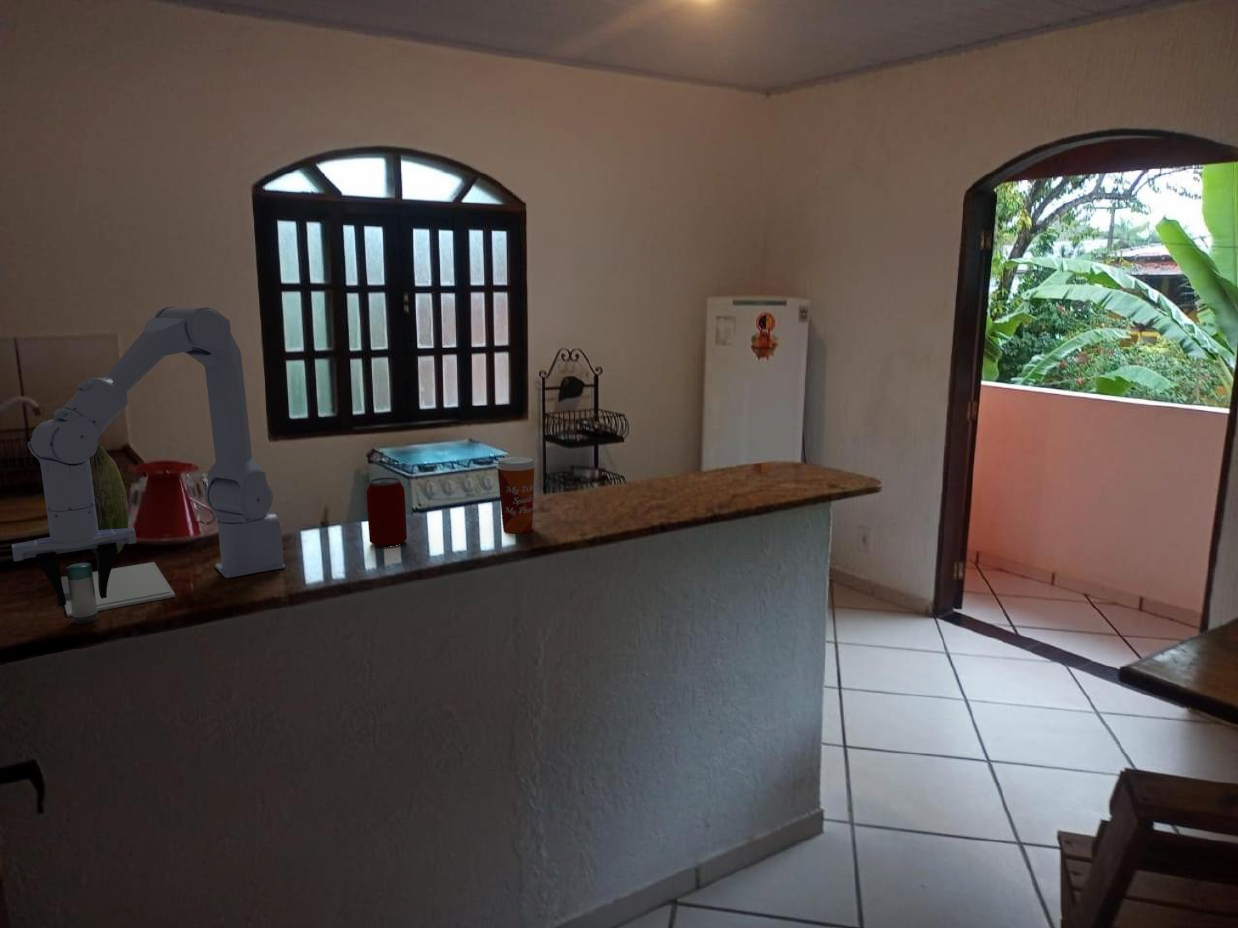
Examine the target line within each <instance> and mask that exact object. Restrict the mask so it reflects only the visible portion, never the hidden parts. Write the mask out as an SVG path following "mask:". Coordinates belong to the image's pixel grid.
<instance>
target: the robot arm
mask: <svg viewBox="0 0 1238 928" xmlns="http://www.w3.org/2000/svg"><path fill="white" fill-rule="evenodd" d="M231 331H232V330H231V323H230V319H228V317H226V316H224V315H223V314H222V313H221V312H219V311H218V310H216V309H215V308H213V307H209V306H201V307H176V306H165V307H163V308H161V309H159V310H158V311H157V312H156V313H155V315H154V317H152V318H150V319H149V320H147V322H146V323H145V325H144V328H143V331H142V332H141V333H140V335H139V336H138V337H137V338H136V340H134V342H133V343H132V344H131V346H130V347H129V348H128V349H127V350H126V351H125V352H124V354H122V356H121V357H120V358H119V360H118V361H117V362H116V363H115V364H114V365H113V367H112V368H111V369H110V371H109V372H108V373H107V374H106V375H105V376H104V377H92V378H90V379H89V380H88V381H86V380H85V381H81V382H80V383H79V384H78V385H77V386H76V389H78V391H77V392H76V393H75V394H74V395H73V396H72V397H71V399H70V400H69V401H67V403H66V404H65V405H64V406H63V407H61V408H56V410H55V411H54V412H53V416H54V417H53V419H48V420H44V421H43V422H40V423H39V424H38V425H37V426H36V427H35V428H34V429H33V431H32V433H31V435H32V436H31V438H30V441H28V442H27V448H28V450H29V451H30V453H31V454H32V455H33V456H34V457H35V458H36V459H37V460H38V462H39V464H40V471H41V478H42V487H43V493H44V501H45V507H46V508H45V510H46V515H47V522H48V523H47V524H48V529H49V531H48V532H49V537H43V538H39V539H34V540H30V541H25V542H20V543H14V544H13V543H12V544H11V551H12V559H13V562H19V561H24V559H30V558H35V559H36V564H37V566H38V567H39V568H40V570H41V571H42V572H43V573H44V575H45V576H46V577H47V580H49V582H50V584H51V586H52V587H53V589H54V592H55V594H56V595H57V599H58V602H59V606H64V605H66V599H65V594H64V590H63V586H62V581H61V577H62V575H61V574H62V573H61V566H60V565H61V564H60V560H59V556H58V555H59V554H64V553H71V552H76V551H84V550H90V549H94V548H95V550H94V552H95V553H94V554H95V560H96V567H97V571H98V586H99V594H100V597H101V599H102V598H107V585H108V580H109V575H110V572H111V569H113V566H114V564H115V561H116V558H117V556H118V554H119V553H118V549H117V546H116V545H119V544H124V545H125V544H128V545H132V544H137V535H136V530H135V528H134V527H128V528H125V529H112V530H98V523H97V515H96V507H95V499H94V491H93V483H92V475H91V467H90V459H89V458H90V457H91V456H93V455H94V454H95V452H96V450H97V446H98V445H99V437H100V436H101V435H102V434H103V433H104V432H105V430H106V429H107V428H108V427H109V426H110V425H111V423H113V421H114V420H116V418H117V417H118V416H119V415H121V412H123V410H125V408H127V406H128V405H129V404H128V401H129V400H128V392H129V391H130V390H131V389H132V388H133V387H134V386H135V385H136V384H137V383H139V381H140V380H141V379H142V378H143V377H144V376H146V374H148V373H149V372H150V371H151V370H152V369H153V368H154V367H155V366H156V365H157V364H159V363H160V362H161V360H163V358H165V357H166V356H171V355H176V354H180V353H185V354H187V355H188V356H190V357H191V358H193V359H194V360H195V361H197V362H198V363H200V364H201V365H203V367H204V372H205V379H206V389H207V395H208V398H207V399H208V406H209V414H210V423H211V430H212V431H211V433H212V440H213V450H214V458H215V459H214V460H215V462H214V464H213V465H212V466H211V468H210V467H209V468H210V469H209V470H208V471H207V477H208V478H207V479H208V481H207V485H206V489H205V496H204V498H205V502H206V505H207V506H208V508H210V510H212V511H213V512H214V517H215V518H216V519H217V520H216V521H217V530H218V540H219V541H218V542H219V552H220V562H217V563H216V564H215V565H214V566H215V568H216V569H217V570H218V572H219V573H220V574H222V576H223V577H224V578H225V579H231V578H235V577H241V576H246V575H251V574H258V573H262V572H269V571H274V570H279V569H280V570H281V569H285V568H286V564H285V560H284V558H285V557H284V550H283V534H282V527H281V523H280V519H279V517H278V515H277V514H276V513H274V512H273V513H271V512H270V513H268V512H269V511H270V510H271V508H272V505H273V499H274V497H273V491H272V488H271V486H270V485H269V483H268V480H267V477H266V472H265V470H264V469H263V468H262V467H261V466H260V465H259V464H258V463H257V462H256V461H255V460H254V459H253V455H252V443H251V436H250V435H251V434H250V427H249V418H248V417H249V416H248V405H247V397H246V387H245V379H244V378H245V376H244V371H243V369H244V367H243V360H242V353H241V350H240V348H239V345H238V343H236V340H235V338H234V336H233V335H232V332H231ZM117 553H118V554H117Z"/></svg>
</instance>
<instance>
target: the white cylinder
mask: <svg viewBox="0 0 1238 928" xmlns="http://www.w3.org/2000/svg"><path fill="white" fill-rule="evenodd" d="M65 569H66V576H67V578H68V585H69V592H70V600H71V607H72V614H73V616H72V619H73V621H72V622H73V624H75V625H84V624H89V623H93V622H95V621H98V619H99V615H98V612H99V611H97V604H96V597H95V589H94V581H93V574H92V572H93V567H92V563H90V562H79V563H74V564H70V565H68V566H66V568H65Z"/></svg>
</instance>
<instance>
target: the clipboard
mask: <svg viewBox="0 0 1238 928" xmlns="http://www.w3.org/2000/svg"><path fill="white" fill-rule="evenodd" d="M92 574H93V581H94V589H95V597H96V604H97V612H100V611H106V610H112V609H116V608H117V609H118V608H122V607H126V606H127V607H128V606H132V605H138V604H142V603H143V604H144V603H149V602H150V603H151V602H154V601H159V600H165V599H170V598H171V599H172V598H176V593H175V592H174V590H173V588H172V587H171V585H170V584H169V582H168V580H167V579H166V577H164V575H163V573H162V572H161V570H160V569H159V567H158V565H157V564H156V563H155V561H152V562H146V563H139V564H133V565H128V566H127V565H126V566H122V567H116V568H112V569H111V572H110V575H109V580H108V585H107V598H102V599H101V597H100V594H99V586H98V570H95V571H92ZM61 581H62V586H63V590H64V594H65V599H66V605H63V606H64V608H65V613H66V617H67V618H69V617H73V614H72V607H71V600H70V592H69V585H68V578H67V575H66V576H65V575H64V576H61Z"/></svg>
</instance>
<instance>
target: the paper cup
mask: <svg viewBox="0 0 1238 928" xmlns="http://www.w3.org/2000/svg"><path fill="white" fill-rule="evenodd" d="M536 467H537V465H536V464H535V460H534V459H533V458H531V457H526V456H510V457H509V456H508V457H503V458H500V459H498V460H497V465H495V469H497V477H498V488H499V489H498V490H499V500H500V510H501V520H502V530H503V532H504V533H506V534H509V535H510V534H511V535H512V534H513V535H518V534H519V535H521V534H527V533H529V532H532V529H533V518H534V517H533V516H534V515H533V514H534V511H533V510H534V492H535V491H534V488H535V487H534V485H535V484H534V483H535V468H536Z"/></svg>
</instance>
